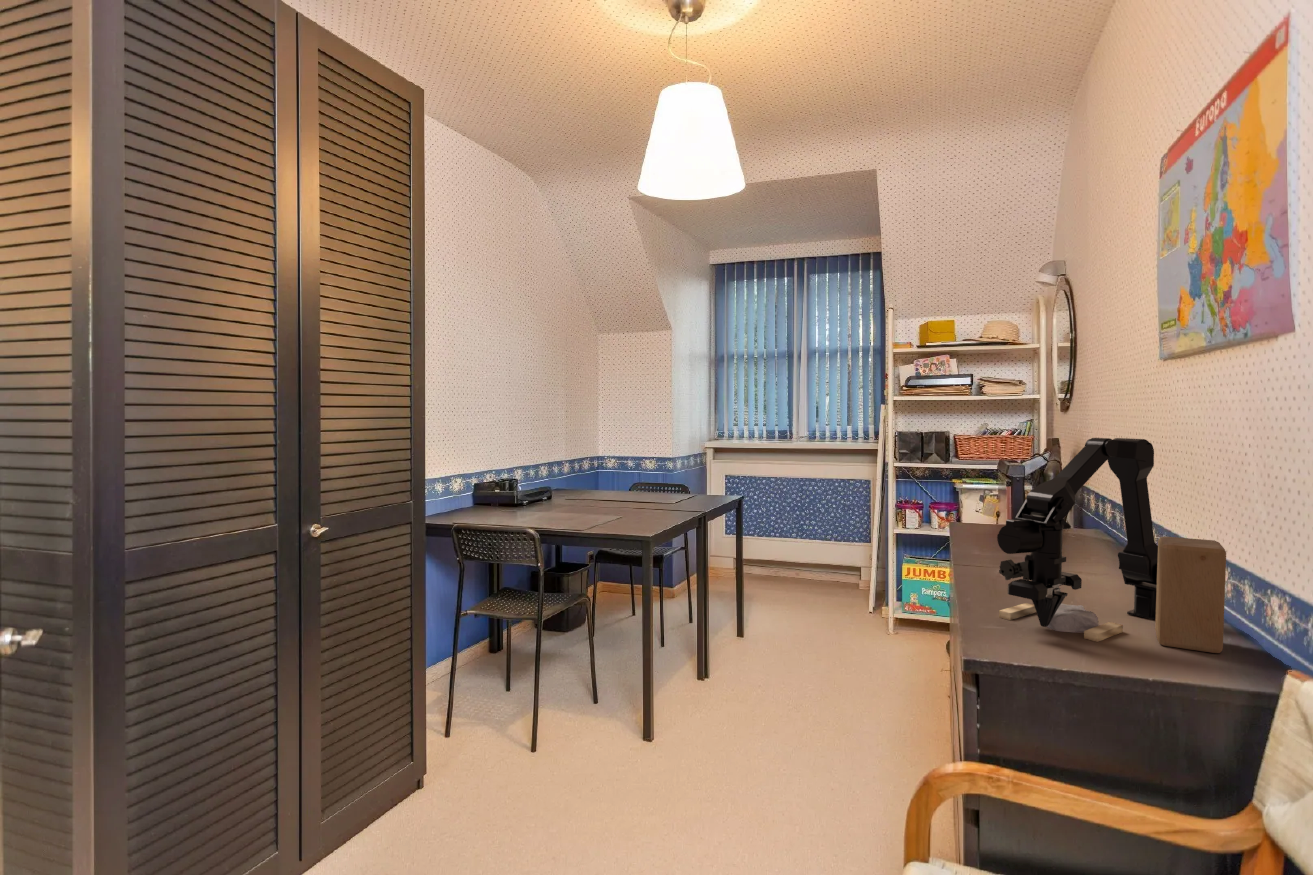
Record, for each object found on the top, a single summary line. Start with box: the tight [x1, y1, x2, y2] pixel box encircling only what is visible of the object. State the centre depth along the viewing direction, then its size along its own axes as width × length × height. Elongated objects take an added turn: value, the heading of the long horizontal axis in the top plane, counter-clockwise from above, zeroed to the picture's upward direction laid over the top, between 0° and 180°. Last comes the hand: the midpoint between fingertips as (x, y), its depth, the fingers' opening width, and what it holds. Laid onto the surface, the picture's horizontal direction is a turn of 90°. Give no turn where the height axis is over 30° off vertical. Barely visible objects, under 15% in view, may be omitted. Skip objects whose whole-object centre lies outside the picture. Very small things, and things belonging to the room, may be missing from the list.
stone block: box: [1046, 603, 1099, 634], centre depth 153 cm, size 12×5×10 cm
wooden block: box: [1154, 535, 1227, 654], centre depth 140 cm, size 10×10×20 cm
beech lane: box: [998, 602, 1124, 643], centre depth 153 cm, size 11×20×2 cm, turn 35°
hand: (1044, 626), depth 149 cm, fingers closed
